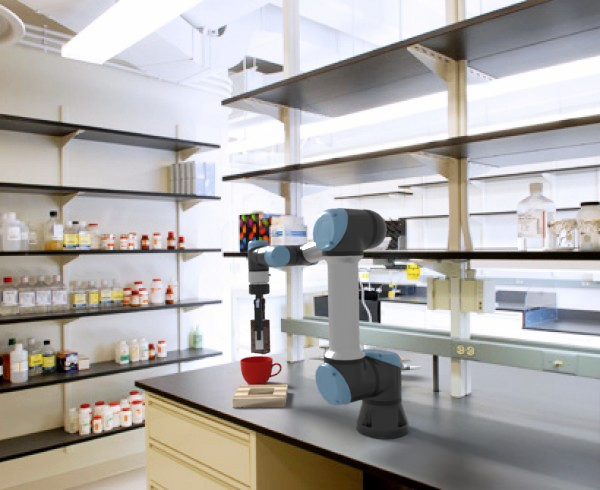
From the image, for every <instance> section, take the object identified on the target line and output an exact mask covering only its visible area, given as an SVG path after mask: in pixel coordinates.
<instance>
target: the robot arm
mask: <svg viewBox="0 0 600 490" xmlns="http://www.w3.org/2000/svg"><path fill="white" fill-rule="evenodd" d="M386 237H387V223H386V221H385V220H384V218H383V217H382V215H380V213H378V212H376V211H375V210H371V209H366V208H363V209H361V208H360V209H359V208H358V209H357V208H346V207H345V208H342V207H340V208H339V207H337V208H328V209H324V210H323V211H322V212H320V213H319V214H318V217H317V218H316V219H315V221H314V225H313V229H312V240H311V241H308V242H305V243H303V244H289V245H288V244H287V245H286V244H282V245H281V244H273V245H272V244H271V245H269V241H268V240H250V241H249V242H248V243H247V244H248V245H247V262H248V264H247V265H248V267H247V268H248V274H247V275H248V276H247V277H248V283H249V284H248V294H249V295H251V296H254V297H255V299H253V311H254V313H253V314H254V316H253V319H254V325H255V327H254V329H253V331H255V345H256V349H263V331H262V330H263V329H262V319H266V298H265V297H264V296H265V295H269V294H270V293H271V291H270V290H271V288H270V286H271V285H270V283H269V282H270V277H271V276H272V274H271V273H270V268H274V269H275V268H277V269H278V268H282V267H283V268H284V267H303V266H305V267H311V266H316V265H318V263H319V262H320V261H326V264H327V305H328V306H327V307H328V308H327V309H328V310H327V311H328V313H327V314H328V315H327V316H328V318H327V319H328V349H326V351H325V352H324V353H323V363H321V364H319V365H318V366H317V367H316V370H315V375H314V377H315V384H316V387H317V390H318V393H319V394H320V395H321V397H322V398H323V399H324V400H325V402H327V404H330V405H332V406H342V405H349V404H351V403H355V402H358V401H361V405H360V409H359V411H358V415H357V419H356V430H357V432H358V433H360V434H361V435H362V436H363V435H364V436H365V437H369V438H374V439H396V438H400V437H404V436H405V435H407V434H408V433H409V431H410V430H409V426H410V425H409V421H408V417H407V414H406V411H405V409H404V406H403V401H402V400H403V399H402V398H403V397H402V392H403V391H402V368H403V367H402V364H401V356H400V355H399V354H398V353H397V352H395V351H391V350H387V351H385V350H376V349H364V348H363V349H362V348H360V346H361V345H360V341H361V339H360V338H361V337H360V298H359V297H360V295H359V294H360V289H359V285H360V284H359V262H360V261H361V260H362V259H363V258H364V251H367V250H371V249H375V248H377V247H378V246H380V245H381V244H382V243H383V242H384V241H385V239H386ZM257 326H258V327H257Z"/></svg>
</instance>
